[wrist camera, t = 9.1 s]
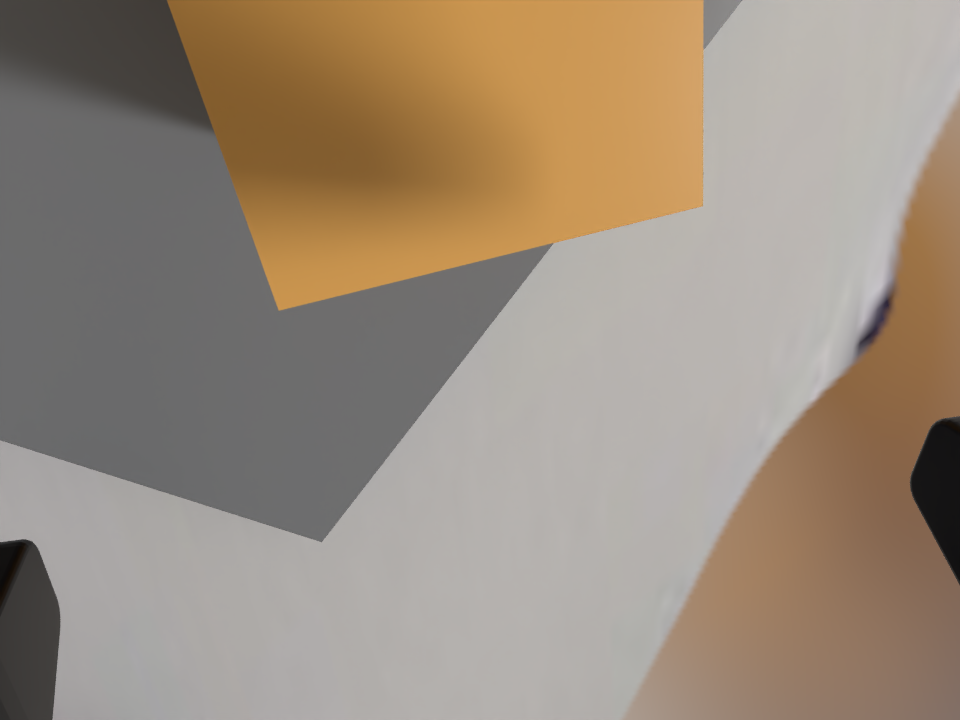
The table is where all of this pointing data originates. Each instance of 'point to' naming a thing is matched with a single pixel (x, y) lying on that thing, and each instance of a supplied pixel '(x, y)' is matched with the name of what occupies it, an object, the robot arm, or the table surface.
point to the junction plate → (192, 289)
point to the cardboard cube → (444, 127)
